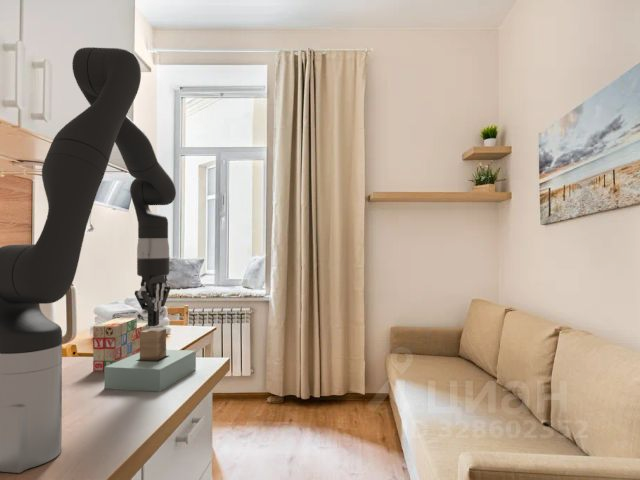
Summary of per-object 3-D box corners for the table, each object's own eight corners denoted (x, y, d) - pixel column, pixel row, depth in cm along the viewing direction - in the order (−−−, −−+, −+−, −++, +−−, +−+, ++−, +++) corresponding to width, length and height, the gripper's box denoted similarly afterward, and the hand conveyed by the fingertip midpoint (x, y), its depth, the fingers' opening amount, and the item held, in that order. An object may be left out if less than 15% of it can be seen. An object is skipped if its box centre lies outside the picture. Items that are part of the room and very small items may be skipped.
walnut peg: (156, 381, 106) (156, 332, 106) (139, 381, 107) (139, 331, 107) (166, 376, 111) (166, 328, 111) (149, 375, 111) (149, 328, 112)
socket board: (160, 391, 99) (160, 369, 99) (104, 388, 101) (104, 366, 101) (195, 369, 117) (195, 350, 117) (147, 367, 119) (147, 349, 119)
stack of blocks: (131, 352, 137) (131, 313, 137) (150, 352, 136) (150, 313, 137) (92, 372, 115) (92, 325, 116) (115, 372, 115) (115, 325, 115)
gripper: (152, 257, 102) (152, 331, 102) (180, 255, 115) (180, 321, 115) (123, 257, 104) (123, 330, 103) (153, 256, 117) (154, 321, 116)
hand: (153, 325), depth 109 cm, fingers closed
